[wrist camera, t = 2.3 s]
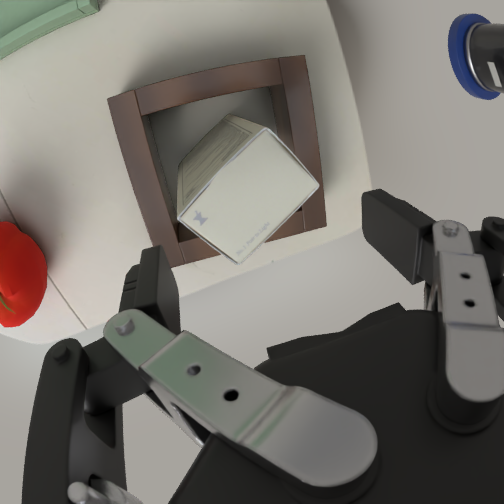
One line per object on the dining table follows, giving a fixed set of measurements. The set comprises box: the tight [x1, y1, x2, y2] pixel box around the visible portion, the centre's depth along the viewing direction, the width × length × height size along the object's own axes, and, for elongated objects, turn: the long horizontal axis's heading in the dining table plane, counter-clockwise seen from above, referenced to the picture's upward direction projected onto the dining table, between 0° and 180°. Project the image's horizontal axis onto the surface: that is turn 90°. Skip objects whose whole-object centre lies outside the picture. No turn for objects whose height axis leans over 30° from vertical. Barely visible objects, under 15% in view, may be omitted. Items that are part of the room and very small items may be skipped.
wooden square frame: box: [107, 55, 327, 268], centre depth 24 cm, size 14×14×4 cm
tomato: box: [0, 221, 47, 327], centre depth 22 cm, size 9×9×8 cm
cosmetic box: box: [177, 114, 319, 265], centre depth 20 cm, size 6×4×12 cm
